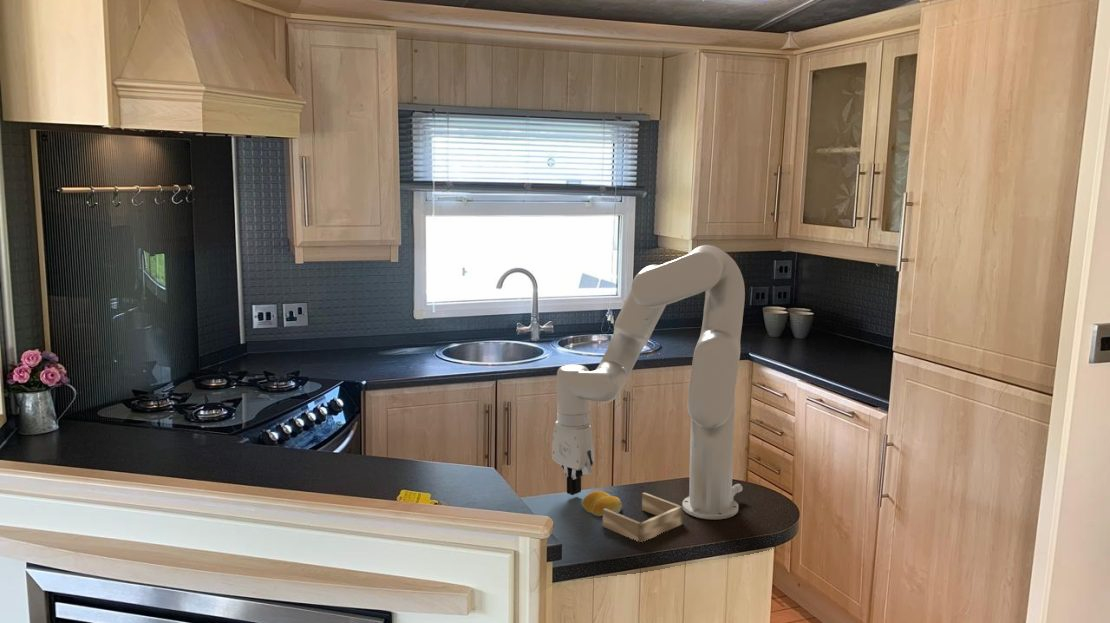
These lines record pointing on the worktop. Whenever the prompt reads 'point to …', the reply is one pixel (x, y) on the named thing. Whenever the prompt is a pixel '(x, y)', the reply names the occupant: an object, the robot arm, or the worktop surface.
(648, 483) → the worktop surface
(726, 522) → the worktop surface
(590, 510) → the bread roll
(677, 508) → the holder
